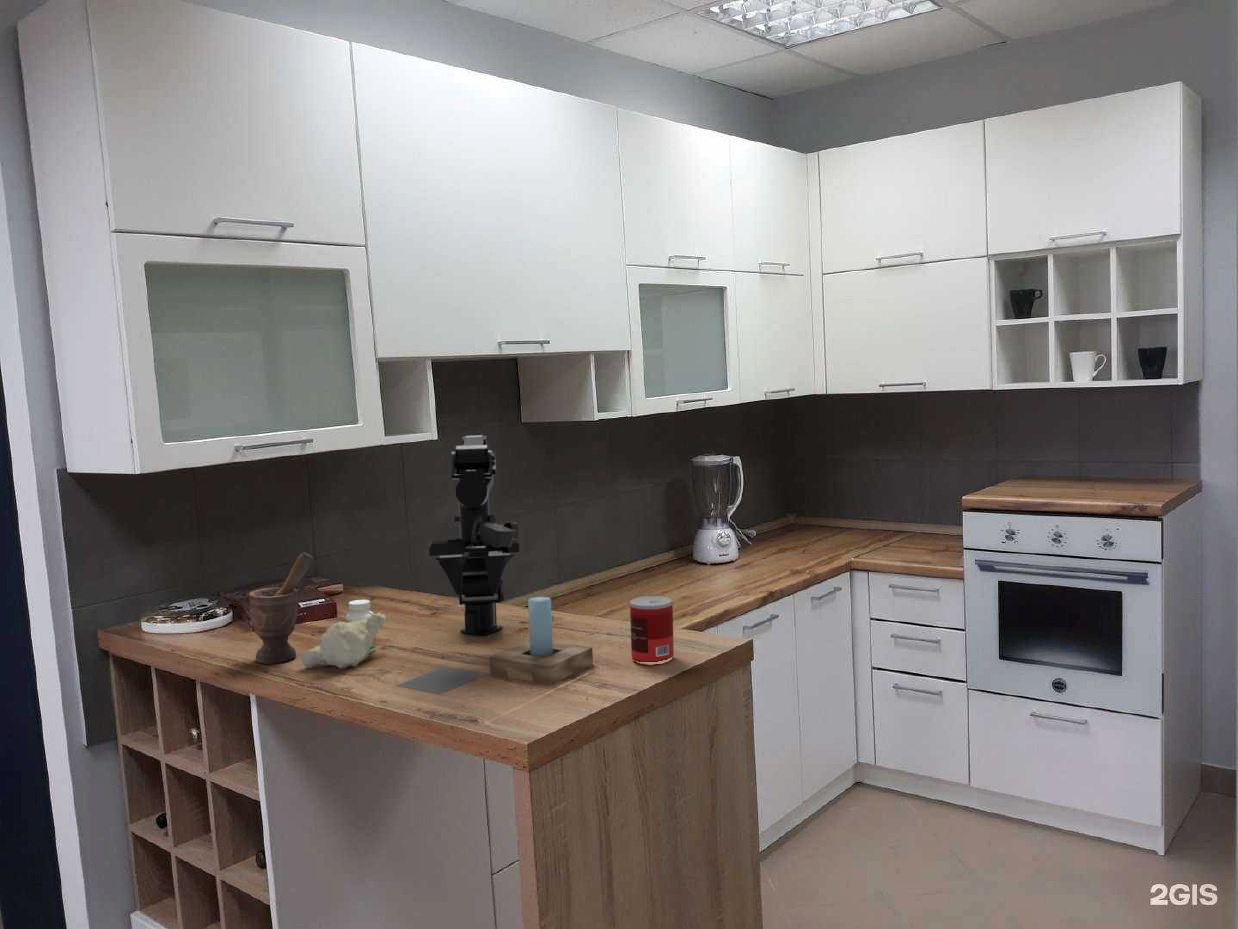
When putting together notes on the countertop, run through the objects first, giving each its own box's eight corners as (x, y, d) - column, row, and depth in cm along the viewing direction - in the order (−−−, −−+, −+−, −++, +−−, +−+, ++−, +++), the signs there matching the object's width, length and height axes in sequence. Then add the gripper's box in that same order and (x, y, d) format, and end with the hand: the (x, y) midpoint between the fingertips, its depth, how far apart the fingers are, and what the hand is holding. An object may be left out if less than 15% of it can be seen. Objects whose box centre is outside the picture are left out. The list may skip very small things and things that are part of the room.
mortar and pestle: (302, 647, 198) (296, 547, 196) (323, 655, 192) (317, 552, 190) (245, 659, 190) (239, 556, 188) (265, 668, 184) (259, 561, 182)
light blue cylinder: (532, 668, 180) (529, 597, 178) (554, 667, 179) (551, 596, 178) (529, 675, 176) (527, 602, 174) (552, 674, 175) (549, 601, 174)
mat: (443, 669, 181) (443, 667, 180) (486, 676, 175) (486, 674, 175) (396, 687, 170) (395, 685, 170) (440, 696, 165) (440, 694, 165)
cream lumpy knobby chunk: (309, 691, 177) (374, 635, 177) (287, 658, 179) (351, 603, 179) (347, 690, 191) (406, 639, 192) (326, 660, 193) (385, 610, 194)
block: (534, 657, 186) (534, 639, 186) (593, 666, 180) (592, 647, 179) (490, 676, 175) (489, 656, 175) (550, 686, 169) (550, 666, 168)
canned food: (678, 655, 185) (677, 596, 184) (666, 667, 178) (665, 606, 177) (639, 652, 188) (637, 595, 187) (625, 664, 180) (624, 604, 179)
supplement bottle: (368, 655, 191) (365, 605, 190) (342, 654, 192) (339, 604, 191) (380, 647, 196) (378, 599, 195) (355, 646, 197) (353, 598, 196)
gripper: (468, 507, 177) (471, 595, 176) (538, 508, 192) (542, 589, 191) (425, 511, 184) (428, 596, 182) (496, 512, 199) (499, 591, 197)
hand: (477, 593), depth 188 cm, fingers open, 9 cm apart
